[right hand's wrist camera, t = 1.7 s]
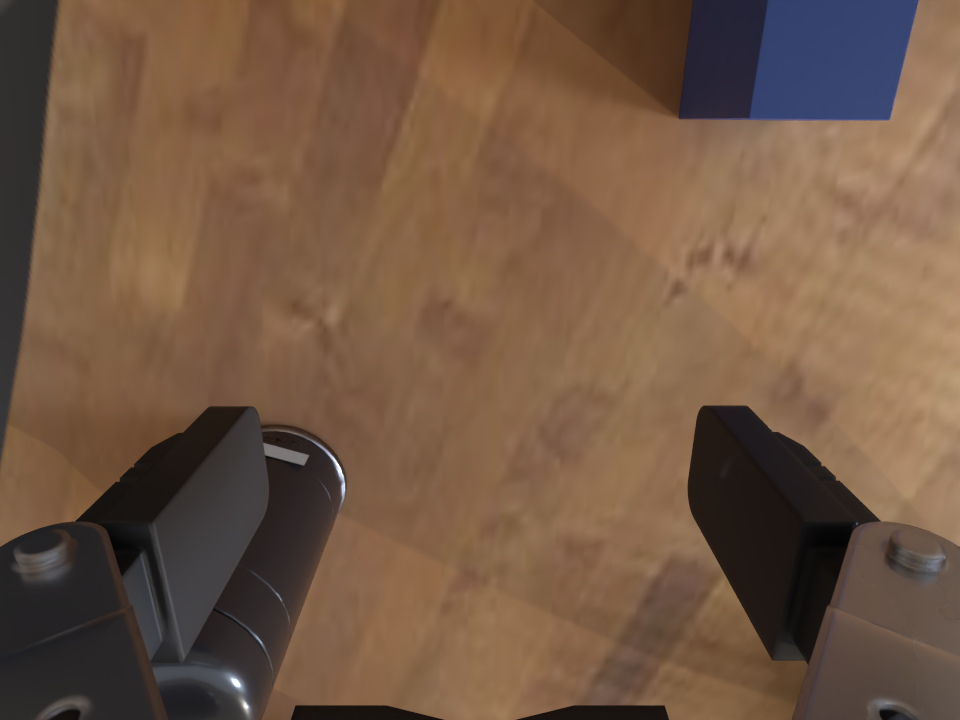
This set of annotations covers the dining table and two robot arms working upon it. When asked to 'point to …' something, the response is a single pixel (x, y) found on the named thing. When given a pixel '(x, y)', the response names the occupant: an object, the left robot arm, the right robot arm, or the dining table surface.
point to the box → (795, 59)
